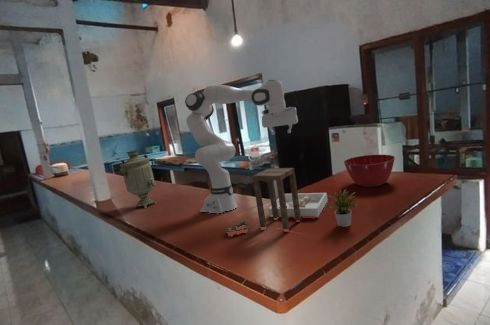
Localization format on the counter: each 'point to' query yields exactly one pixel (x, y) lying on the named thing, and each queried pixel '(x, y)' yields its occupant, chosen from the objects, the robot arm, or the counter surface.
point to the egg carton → (237, 226)
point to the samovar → (138, 177)
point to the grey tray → (311, 207)
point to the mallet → (300, 202)
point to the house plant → (343, 208)
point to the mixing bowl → (370, 169)
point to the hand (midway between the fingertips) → (281, 133)
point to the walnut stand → (278, 175)
